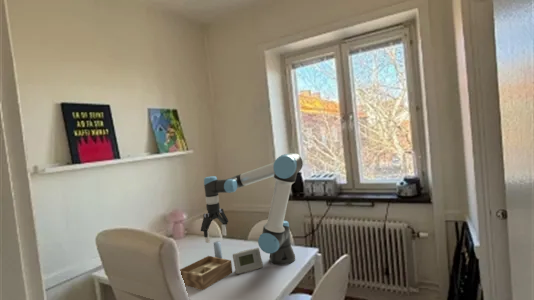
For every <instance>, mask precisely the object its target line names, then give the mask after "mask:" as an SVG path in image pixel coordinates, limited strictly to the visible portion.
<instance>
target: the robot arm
mask: <svg viewBox="0 0 534 300" xmlns="http://www.w3.org/2000/svg"><path fill="white" fill-rule="evenodd" d="M303 163H304V161H303V159H302V157H301V156H300V155H299V154H298V153H297V152H296V153H295V152H290V153H284V154H281V155H280V156H278V157H277V158H276V159H275V160H274V162H272V163H269V164H266V165H263V166H260V167H258V168H255V169H252V170H248V171H246V172H243V173H240V174H237V175H234V176H232V177H231V176H230V177H228V178H225V179H218V178H217V176H215V175H214V176H213V175H211V176H206V177H204V178H203V187H204V194H205V203H206V204H205V205H206V211H207V213H203V218H202V223H201V225H200V226H201V227H200V232H203V236H204V238H205V239H204V240H205V243H208V244H209V243H211V241H210V240H211V239H210V231H209V230H210V229H209V228H210V225H211V224H212V222H213V220H216V219H218V221H220V223H221V226H220V227H221V233H222V236H225V237H226V236H227V225H228V223H229V219H228V218H227V216H226V213H225V212H224V208H220V197H219V193H220V194H221V193H222V194H224V193H228V194H231V193H235V192H236V191H237V189H239V188H240V189H241V188H243V187H246V186H248V185H252V184H254V183H258V182H260V181H265V180H267V179H270V178H273V179H274V180H275V183H274V187H273V188H274V189H273V194H272V198H271V202H270V207H269V208H270V209H269V213H268V216H267V217H268V218H267V221H266V222H265V223H264V224H263V228H262V232H261V234H260V235H259V237H258V239H257V243H258V246H259V247H258V248H259V249H260V251H262V252H263V253H266V254H269V263H270V264H272V265H277V266H285V265H288V264H291V263H293V262H294V261H295V260H296V255H295V252H294V249H293V247H292V242H291V230H290V223H289V221H287V220H285V218H286V217H285V216H286V213H287V209H288V203H289V199H290V194H291V190H292V185H293V184H294V183H296V180H297V175H298V173H299V172H300V171H301V170H302V168H303Z"/></svg>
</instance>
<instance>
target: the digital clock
mask: <svg viewBox="0 0 534 300" xmlns="http://www.w3.org/2000/svg"><path fill="white" fill-rule="evenodd" d="M232 260H233V265H234V270H235V273H236V274H237V275H239V274H244V273H249V272H253V271H256V270H258V269H261V268H263V267H264V264H263V259H262V254H261V249H260V247H255V248H250V249H246V250H241V251H238V252H235V253H233V254H232Z"/></svg>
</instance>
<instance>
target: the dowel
mask: <svg viewBox="0 0 534 300" xmlns="http://www.w3.org/2000/svg"><path fill="white" fill-rule="evenodd" d="M213 249H214V257H217V258H222V259H223V253H222V243H221V241H218V240H217V241H215V242H213Z"/></svg>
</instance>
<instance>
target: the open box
mask: <svg viewBox="0 0 534 300" xmlns="http://www.w3.org/2000/svg"><path fill="white" fill-rule="evenodd" d="M179 270H180V271H181V275H182V278H183V280H184V283H185V285H184V286H186V287H190V288H194V289H196V290H199V291H203V290H206V289H207V288H209V287H210V286H212V285H214V284H216V283H218V282H219V281H221V280H223V279H224V278H227V277H228V276H230V275H231V274H233V265H232V260H231V259H226V258H223V257H222V258H217V257H215V256H211V255H207V256H206V257H203V258H201V259H199V260H197V261H195V262H193V263H191V264H189V265H186V266H184V267H183V268H180V269H179Z"/></svg>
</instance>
